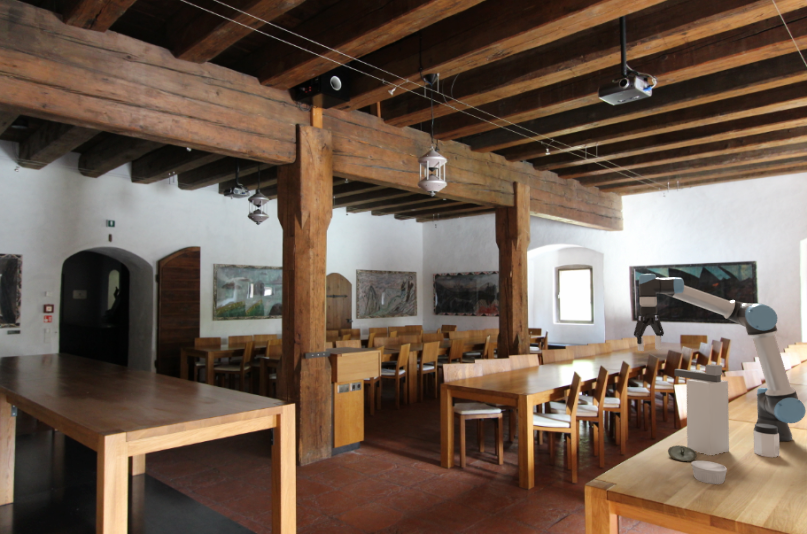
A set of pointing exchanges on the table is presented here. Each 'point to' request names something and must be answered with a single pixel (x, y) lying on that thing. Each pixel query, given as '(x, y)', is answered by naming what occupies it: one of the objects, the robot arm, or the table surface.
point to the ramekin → (709, 472)
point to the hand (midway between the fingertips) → (649, 350)
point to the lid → (682, 453)
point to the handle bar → (711, 373)
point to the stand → (707, 416)
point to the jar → (766, 440)
